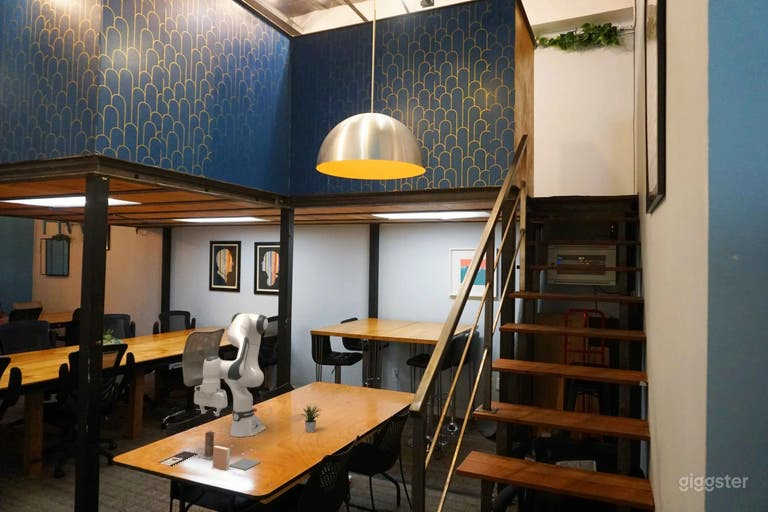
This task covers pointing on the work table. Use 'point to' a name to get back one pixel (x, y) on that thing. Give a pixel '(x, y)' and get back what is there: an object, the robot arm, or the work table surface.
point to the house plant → (310, 418)
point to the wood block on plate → (208, 446)
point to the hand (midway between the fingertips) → (210, 414)
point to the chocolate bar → (178, 458)
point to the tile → (221, 457)
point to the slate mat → (244, 464)
